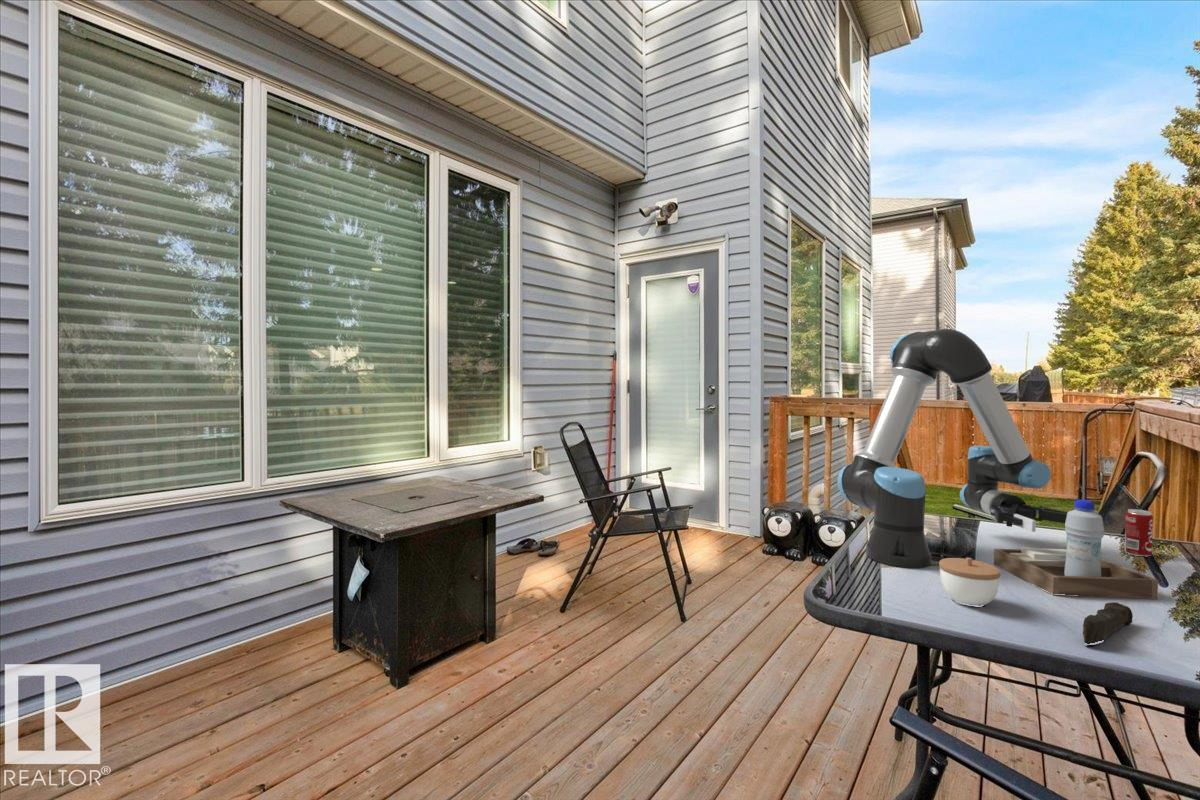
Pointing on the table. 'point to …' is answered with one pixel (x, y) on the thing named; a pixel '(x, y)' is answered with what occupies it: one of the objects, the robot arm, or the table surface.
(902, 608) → the table surface
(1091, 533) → the bottle
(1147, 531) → the soda can
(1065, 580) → the tray
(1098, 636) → the dark brown lumpy bar
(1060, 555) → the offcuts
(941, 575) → the lidded jar
